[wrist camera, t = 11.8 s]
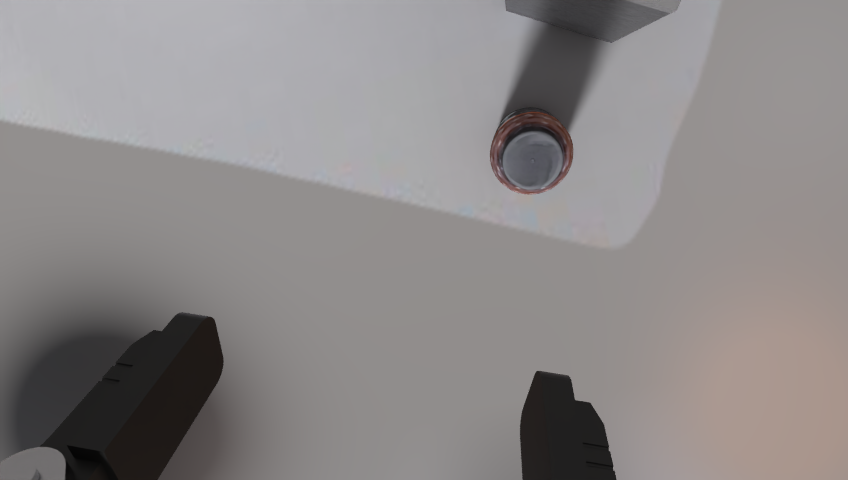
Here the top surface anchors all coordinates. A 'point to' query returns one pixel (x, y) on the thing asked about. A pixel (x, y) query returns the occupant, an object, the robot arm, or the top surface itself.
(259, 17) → the top surface
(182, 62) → the top surface
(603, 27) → the block with hole
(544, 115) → the supplement bottle
